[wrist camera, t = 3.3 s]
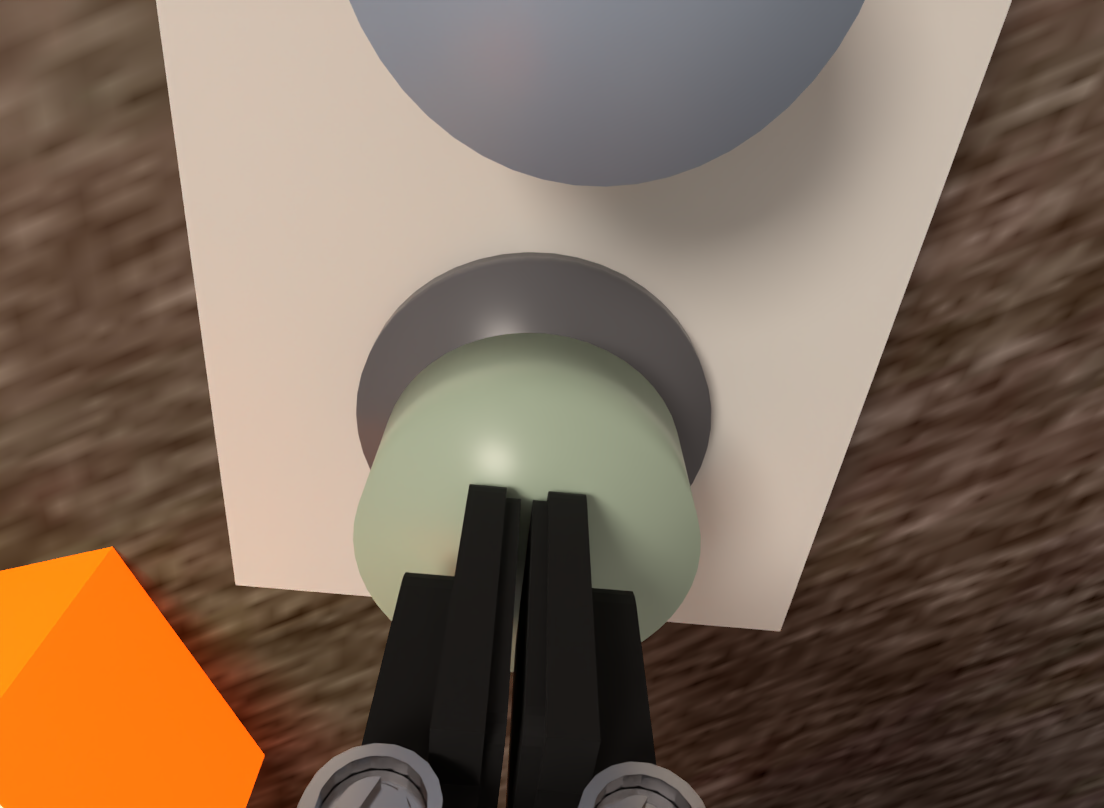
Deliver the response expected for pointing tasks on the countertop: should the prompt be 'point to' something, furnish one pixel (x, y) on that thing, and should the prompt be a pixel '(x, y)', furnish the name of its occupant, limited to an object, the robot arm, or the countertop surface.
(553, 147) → the slate button
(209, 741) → the orange juice
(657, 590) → the sage button
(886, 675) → the countertop surface
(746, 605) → the button panel
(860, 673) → the countertop surface
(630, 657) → the robot arm
